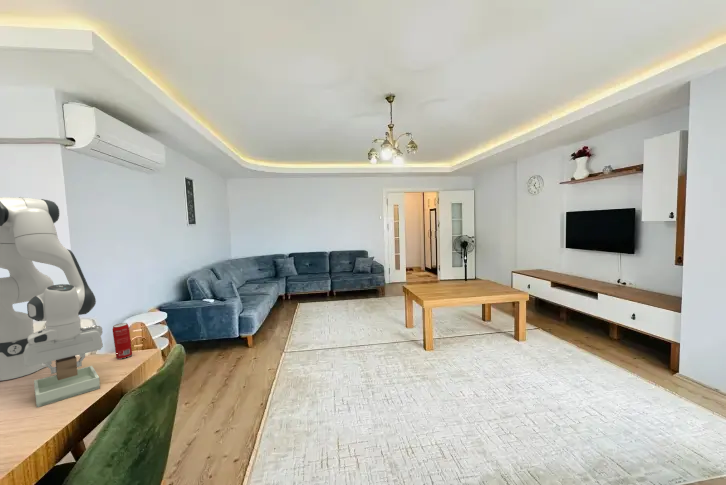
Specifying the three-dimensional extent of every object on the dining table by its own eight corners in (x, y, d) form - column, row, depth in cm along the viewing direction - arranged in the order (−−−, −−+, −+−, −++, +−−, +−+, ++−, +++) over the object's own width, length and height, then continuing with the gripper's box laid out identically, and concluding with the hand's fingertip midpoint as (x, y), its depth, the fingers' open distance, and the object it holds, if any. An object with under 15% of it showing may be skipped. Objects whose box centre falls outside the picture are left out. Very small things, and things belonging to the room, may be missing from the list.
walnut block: (56, 376, 111) (55, 359, 110) (75, 371, 114) (74, 355, 114) (57, 380, 107) (56, 363, 107) (77, 375, 111) (76, 358, 111)
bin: (34, 391, 111) (33, 380, 110) (92, 375, 122) (91, 365, 122) (36, 407, 100) (36, 395, 100) (99, 388, 112) (99, 377, 112)
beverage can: (135, 354, 143) (133, 321, 142) (123, 360, 136) (121, 326, 136) (123, 354, 144) (121, 321, 143) (110, 360, 137) (108, 326, 137)
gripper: (100, 322, 120) (102, 358, 121) (21, 337, 105) (24, 377, 105) (103, 325, 116) (105, 362, 116) (21, 340, 101) (25, 383, 101)
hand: (66, 369), depth 111 cm, fingers closed on walnut block, 5 cm apart
